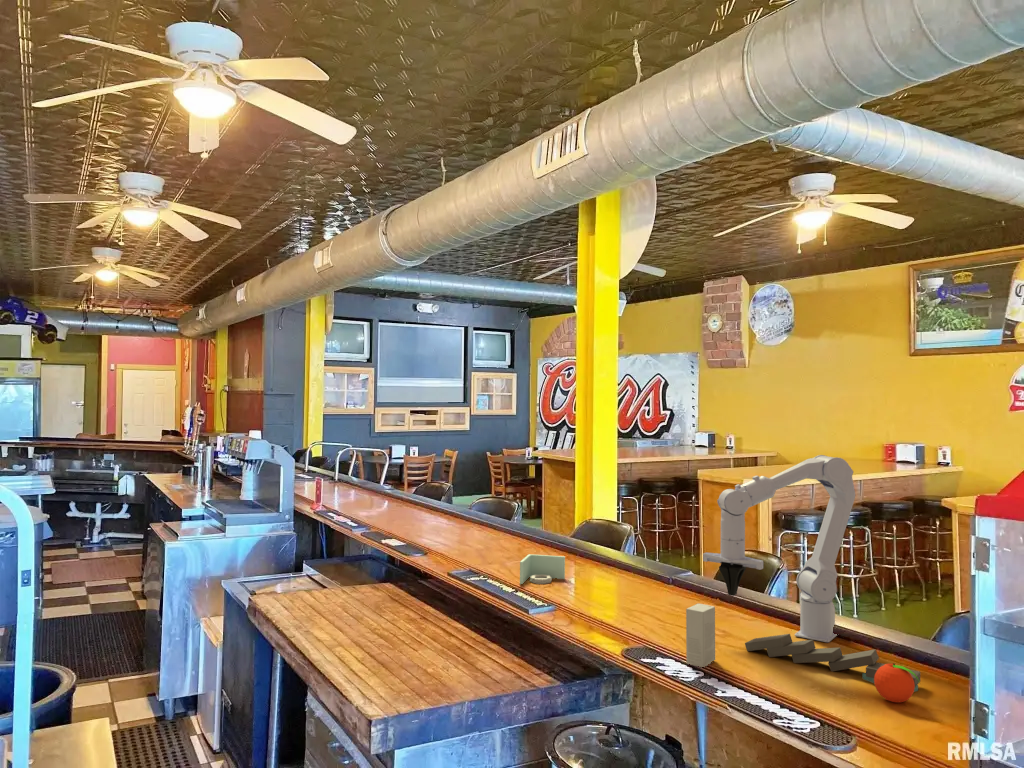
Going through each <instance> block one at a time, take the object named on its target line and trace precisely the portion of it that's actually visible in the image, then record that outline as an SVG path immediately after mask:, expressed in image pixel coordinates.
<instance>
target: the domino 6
mask: <svg viewBox="0 0 1024 768" xmlns="http://www.w3.org/2000/svg"><path fill="white" fill-rule="evenodd" d="M862 680H864V681H867V682H868V683H869V682H870V683H872V684H874V685H875V683H874V678H871V677H866V672H862ZM918 691H919V684H917V686H916V687H915V688H914V692H918ZM914 692H913V693H914Z"/></svg>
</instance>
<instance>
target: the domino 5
mask: <svg viewBox="0 0 1024 768" xmlns="http://www.w3.org/2000/svg"><path fill="white" fill-rule="evenodd" d="M885 664H886V663H881V662H877V661H876V663H875V664H873V665H867V666H866V667H865V673H866V677H871V678H874V676H875V673H876V671H877V670H878V669H879V668H880V667H881V666H883V665H885ZM908 669H909V668H908ZM909 670H911V671H912V672H913V673H914V674H915V675H916V676H917V678H918V679H919V681H918V679H917V678H916V677H915V676H914V675H913V674H912V673H910V672H909V673H910V674H911V676H912V678H913V680H914V685H915V687H916V686H917V685H919V684H920V683H921V671H919V670H914V669H909ZM919 682H920V683H919Z"/></svg>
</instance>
